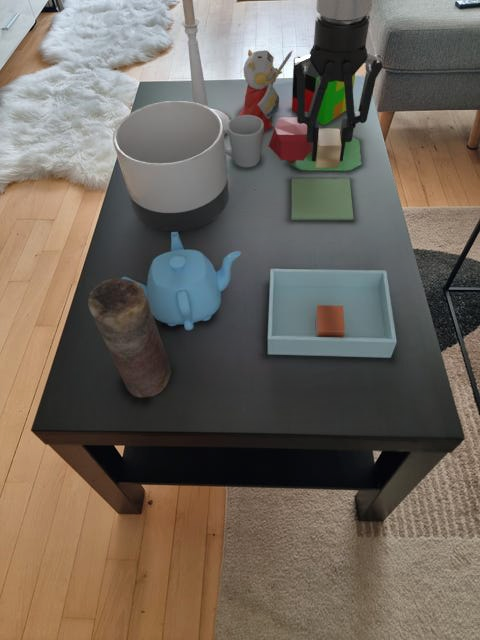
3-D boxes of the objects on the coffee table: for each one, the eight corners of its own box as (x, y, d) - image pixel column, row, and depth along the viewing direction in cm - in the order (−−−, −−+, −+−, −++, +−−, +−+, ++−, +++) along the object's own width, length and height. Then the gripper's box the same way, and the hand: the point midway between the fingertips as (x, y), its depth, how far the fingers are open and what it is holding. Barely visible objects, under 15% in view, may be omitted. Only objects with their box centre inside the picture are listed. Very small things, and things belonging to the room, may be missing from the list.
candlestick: (226, 108, 118) (215, -35, 94) (233, 138, 111) (222, -9, 87) (175, 115, 118) (150, -28, 94) (178, 145, 110) (152, -1, 86)
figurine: (281, 134, 111) (283, 68, 99) (233, 130, 113) (229, 65, 101) (290, 103, 118) (292, 38, 106) (245, 100, 120) (242, 36, 108)
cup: (264, 170, 103) (263, 135, 97) (218, 171, 104) (214, 136, 97) (264, 149, 108) (264, 114, 101) (220, 150, 109) (217, 115, 102)
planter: (151, 175, 105) (132, 97, 90) (238, 182, 102) (232, 103, 87) (123, 237, 94) (96, 160, 79) (219, 247, 91) (209, 169, 76)
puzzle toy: (318, 93, 120) (322, 51, 112) (350, 107, 116) (356, 65, 108) (291, 109, 116) (293, 68, 108) (323, 125, 112) (327, 83, 104)
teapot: (187, 260, 89) (178, 214, 80) (245, 295, 84) (241, 249, 75) (127, 313, 83) (109, 270, 74) (185, 354, 77) (173, 313, 68)
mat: (349, 180, 100) (349, 178, 100) (353, 220, 93) (353, 218, 93) (291, 180, 101) (291, 178, 101) (291, 219, 94) (291, 217, 94)
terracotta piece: (339, 322, 79) (343, 305, 75) (341, 347, 76) (344, 331, 72) (315, 321, 79) (317, 304, 75) (315, 347, 76) (318, 331, 73)
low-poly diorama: (270, 135, 111) (270, 98, 104) (358, 135, 109) (364, 98, 102) (266, 176, 102) (266, 139, 95) (362, 177, 100) (369, 139, 93)
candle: (139, 351, 78) (104, 269, 62) (180, 363, 76) (155, 282, 60) (117, 391, 74) (73, 315, 58) (160, 405, 72) (127, 330, 56)
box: (381, 287, 83) (386, 270, 79) (390, 357, 75) (396, 342, 71) (270, 285, 85) (270, 268, 81) (267, 354, 76) (267, 338, 73)
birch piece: (337, 150, 88) (340, 128, 84) (338, 167, 85) (341, 145, 81) (315, 150, 88) (317, 128, 84) (315, 167, 85) (317, 145, 81)
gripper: (402, -1, 68) (373, 143, 87) (282, 2, 70) (279, 144, 89) (409, 23, 64) (377, 169, 83) (281, 26, 65) (278, 169, 84)
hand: (326, 156), depth 86 cm, fingers closed on birch piece, 4 cm apart
